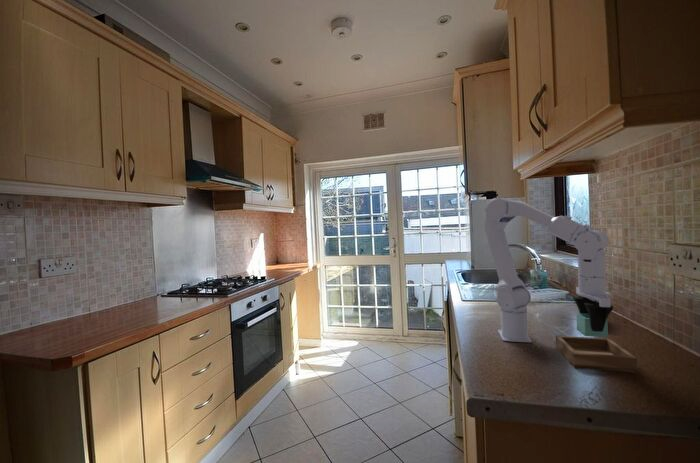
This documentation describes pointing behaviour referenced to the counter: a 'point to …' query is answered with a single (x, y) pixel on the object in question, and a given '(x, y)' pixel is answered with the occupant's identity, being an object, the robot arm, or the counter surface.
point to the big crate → (596, 354)
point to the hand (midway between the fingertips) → (592, 327)
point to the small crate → (589, 326)
